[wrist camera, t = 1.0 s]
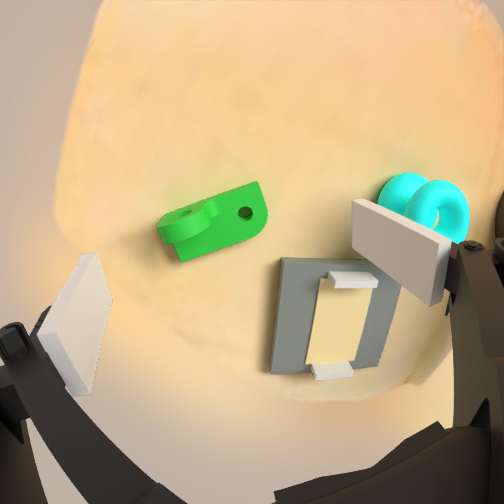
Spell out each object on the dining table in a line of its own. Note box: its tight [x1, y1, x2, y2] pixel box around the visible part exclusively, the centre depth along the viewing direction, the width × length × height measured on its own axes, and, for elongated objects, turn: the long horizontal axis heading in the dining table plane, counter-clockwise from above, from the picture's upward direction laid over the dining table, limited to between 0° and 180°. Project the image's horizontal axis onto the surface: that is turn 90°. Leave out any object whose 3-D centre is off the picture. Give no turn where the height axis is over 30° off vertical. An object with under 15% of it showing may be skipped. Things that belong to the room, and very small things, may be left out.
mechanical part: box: [157, 181, 268, 262], centre depth 35 cm, size 12×6×8 cm, turn 109°
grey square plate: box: [269, 257, 401, 380], centre depth 43 cm, size 18×18×5 cm
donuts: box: [377, 173, 469, 244], centre depth 36 cm, size 10×10×10 cm
